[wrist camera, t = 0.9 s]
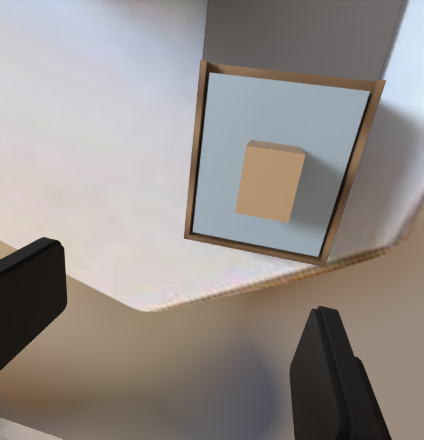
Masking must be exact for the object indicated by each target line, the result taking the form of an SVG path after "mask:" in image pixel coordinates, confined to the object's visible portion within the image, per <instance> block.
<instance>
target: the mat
mask: <svg viewBox="0 0 424 440" xmlns="http://www.w3.org/2000/svg"><path fill="white" fill-rule="evenodd" d="M403 1H404V0H208V7H207V17H206V28H205V38H204V48H203V59H202V60H207V61H208V62H209V63H213V64H222V65H231V66H240V67H249V68H258V69H266V70H275V71H284V72H293V73H302V74H311V75H320V76H329V77H338V78H347V79H356V80H365V81H376V80H378V79H379V76H380V73H381V70H382V67H383V64H384V60H385V57H386V54H387V51H388V48H389V45H390V42H391V38H392V35H393V32H394V29H395V26H396V23H397V20H398V17H399V13H400V10H401V7H402V4H403Z"/></svg>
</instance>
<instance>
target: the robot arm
mask: <svg viewBox="0 0 424 440" xmlns="http://www.w3.org/2000/svg"><path fill="white" fill-rule="evenodd" d="M66 305H67V289H66V271H65V254H64V247H63V246H62V245H61V243H60V241H58V240H54V239H50V238H46V237H43V238H40V239H38V240H36V241H34V242H32V243H30V244H29V245H27V246H25V247H23V248H21V249H19V250H17V251H16V252H14V253H12V254H10V255H8V256H6V257H4V258H2V259H0V370H2V369H3V368H4V367H5V366H6V365H7V364H8V363H9V362H10V361H11V360H12V359H13V358H14V357H15V356H16V355H17V354H18V353H20V352H21V351H22V350H23V349H24V348H25V347H26V346H27V345H28V344H29V343H30V342H31V341H32V340H33V339H34V338H35V337H36V336H37V335H39V334H40V333H41V332H42V331H43V330H44V329H45V328H46V327H47V326H48V325H49V324H50V323H51V322H52V321H53V320H54V319H55V318H56V317H58V315H60V314H61V313H62V312H63V310H64V309H65V308H66ZM290 385H291V398H292V411H293V423H294V435H295V440H392V439H391V436H390V434H389V431H388V429H387V426H386V423H385V421H384V418H383V416H382V413H381V410H380V408H379V405H378V402H377V400H376V397H375V395H374V392H373V389H372V387H371V384H370V381H369V379H368V376H367V373H366V371H365V368H364V366H363V364H362V361H361V360H360V359H359V358H358V357H354V354H353V351H352V348H351V346H350V343H349V340H348V337H347V334H346V332H345V329H344V326H343V323H342V320H341V318H340V315H339V312H338V311H337V310H335V309H331V308H327V307H323V306H319V307H318V308H317V309H312V310H311V312H310V315H309V317H308V320H307V323H306V325H305V328H304V331H303V333H302V336H301V339H300V341H299V344H298V347H297V349H296V352H295V355H294V357H293V360H292V363H291V366H290ZM0 440H63V439H61V438H57V437H55V436H52V435H49V434H46V433H43V432H40V431H37V430H34V429H32V428H28V427H26V426H23V425H19V424H17V423H14V422H11V421H8V420H5V419H2V418H0Z"/></svg>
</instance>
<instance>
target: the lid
mask: <svg viewBox="0 0 424 440" xmlns="http://www.w3.org/2000/svg"><path fill="white" fill-rule="evenodd" d="M369 93H370V91H363V90H355V89H346V88H338V87H329V86H320V85H312V84H303V83H295V82H286V81H278V80H269V79H260V78H252V77H243V76H235V75H226V74H218V73H210V74H209V83H208V93H207V102H206V112H205V121H204V130H203V140H202V149H201V159H200V168H199V177H198V187H197V196H196V206H195V215H194V224H193V232H195V233H200V234H205V235H210V236H215V237H220V238H225V239H230V240H235V241H240V242H245V243H250V244H255V245H260V246H265V247H271V248H276V249H281V250H286V251H291V252H296V253H301V254H306V255H311V256H316V257H318V256H319V252H320V249H321V246H322V243H323V240H324V236H325V233H326V230H327V227H328V224H329V220H330V217H331V214H332V211H333V208H334V205H335V201H336V198H337V195H338V192H339V189H340V185H341V182H342V179H343V176H344V173H345V169H346V166H347V163H348V160H349V157H350V153H351V150H352V147H353V144H354V141H355V137H356V134H357V131H358V128H359V125H360V122H361V118H362V115H363V112H364V109H365V106H366V102H367V99H368V96H369Z"/></svg>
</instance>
